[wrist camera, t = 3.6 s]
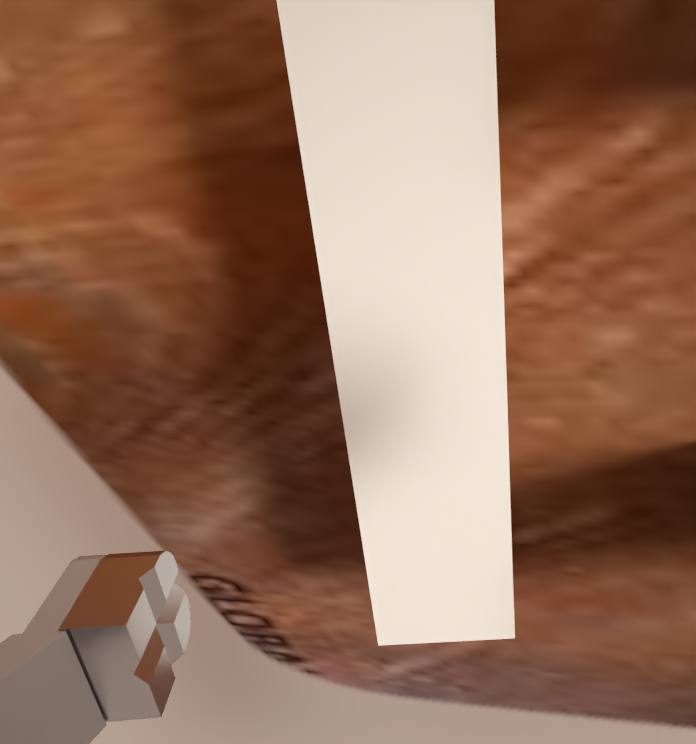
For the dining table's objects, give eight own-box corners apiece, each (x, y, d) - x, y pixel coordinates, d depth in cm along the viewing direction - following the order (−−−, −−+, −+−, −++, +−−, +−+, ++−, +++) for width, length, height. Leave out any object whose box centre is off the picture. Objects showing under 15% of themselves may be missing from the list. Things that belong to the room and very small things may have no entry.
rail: (293, -40, 15) (264, -79, 11) (463, -69, 14) (490, -120, 11) (379, 553, 22) (378, 645, 19) (493, 545, 22) (514, 638, 18)
